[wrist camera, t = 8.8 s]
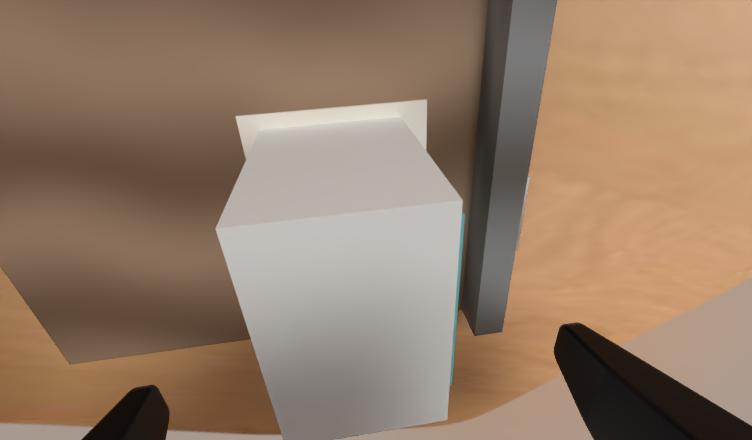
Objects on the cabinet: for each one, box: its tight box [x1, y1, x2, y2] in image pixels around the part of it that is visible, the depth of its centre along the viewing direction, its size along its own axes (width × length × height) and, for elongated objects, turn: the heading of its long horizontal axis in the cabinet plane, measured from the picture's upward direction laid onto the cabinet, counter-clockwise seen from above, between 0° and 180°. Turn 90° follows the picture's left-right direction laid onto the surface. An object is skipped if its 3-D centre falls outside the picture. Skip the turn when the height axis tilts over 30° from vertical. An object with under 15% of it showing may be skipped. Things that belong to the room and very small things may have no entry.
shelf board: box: [0, 0, 557, 364], centre depth 12 cm, size 16×18×3 cm
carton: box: [215, 117, 465, 440], centre depth 11 cm, size 5×7×6 cm
